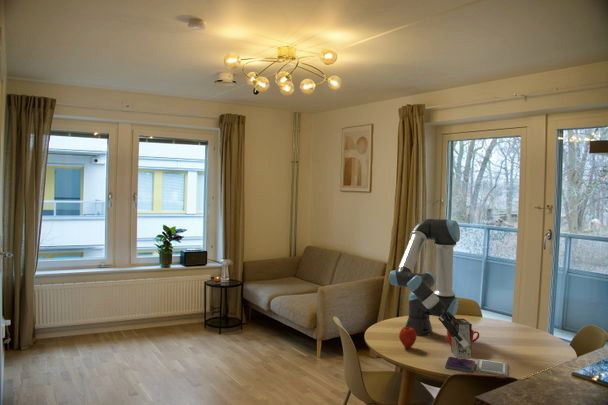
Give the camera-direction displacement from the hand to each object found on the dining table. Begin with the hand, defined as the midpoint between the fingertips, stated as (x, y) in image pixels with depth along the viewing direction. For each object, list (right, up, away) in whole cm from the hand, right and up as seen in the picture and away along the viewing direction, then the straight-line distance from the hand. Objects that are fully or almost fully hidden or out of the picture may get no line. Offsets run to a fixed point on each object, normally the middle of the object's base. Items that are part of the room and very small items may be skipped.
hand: (467, 342), depth 218 cm
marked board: (+11, -12, 0) cm, 16 cm away
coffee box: (-3, -7, +2) cm, 8 cm away
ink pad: (-3, -11, +1) cm, 12 cm away
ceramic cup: (+6, -11, +25) cm, 28 cm away
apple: (-23, -10, +24) cm, 35 cm away
